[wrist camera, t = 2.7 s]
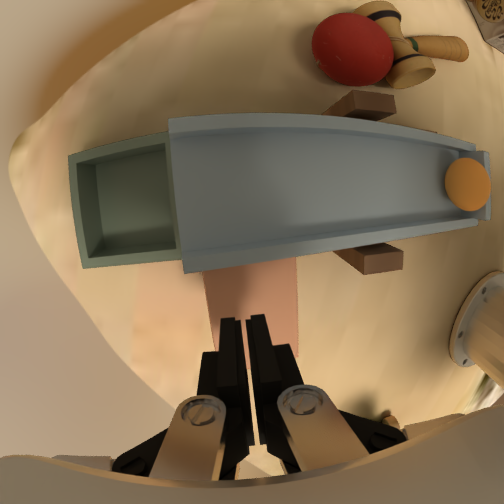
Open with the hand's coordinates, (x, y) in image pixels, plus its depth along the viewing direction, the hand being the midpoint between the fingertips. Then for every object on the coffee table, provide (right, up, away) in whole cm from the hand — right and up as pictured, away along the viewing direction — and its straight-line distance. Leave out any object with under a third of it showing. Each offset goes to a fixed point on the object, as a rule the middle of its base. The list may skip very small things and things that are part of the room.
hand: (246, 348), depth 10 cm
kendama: (+13, +21, +7) cm, 26 cm away
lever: (+7, +5, +5) cm, 9 cm away
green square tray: (-8, +8, +9) cm, 14 cm away
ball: (+14, +8, +3) cm, 17 cm away
